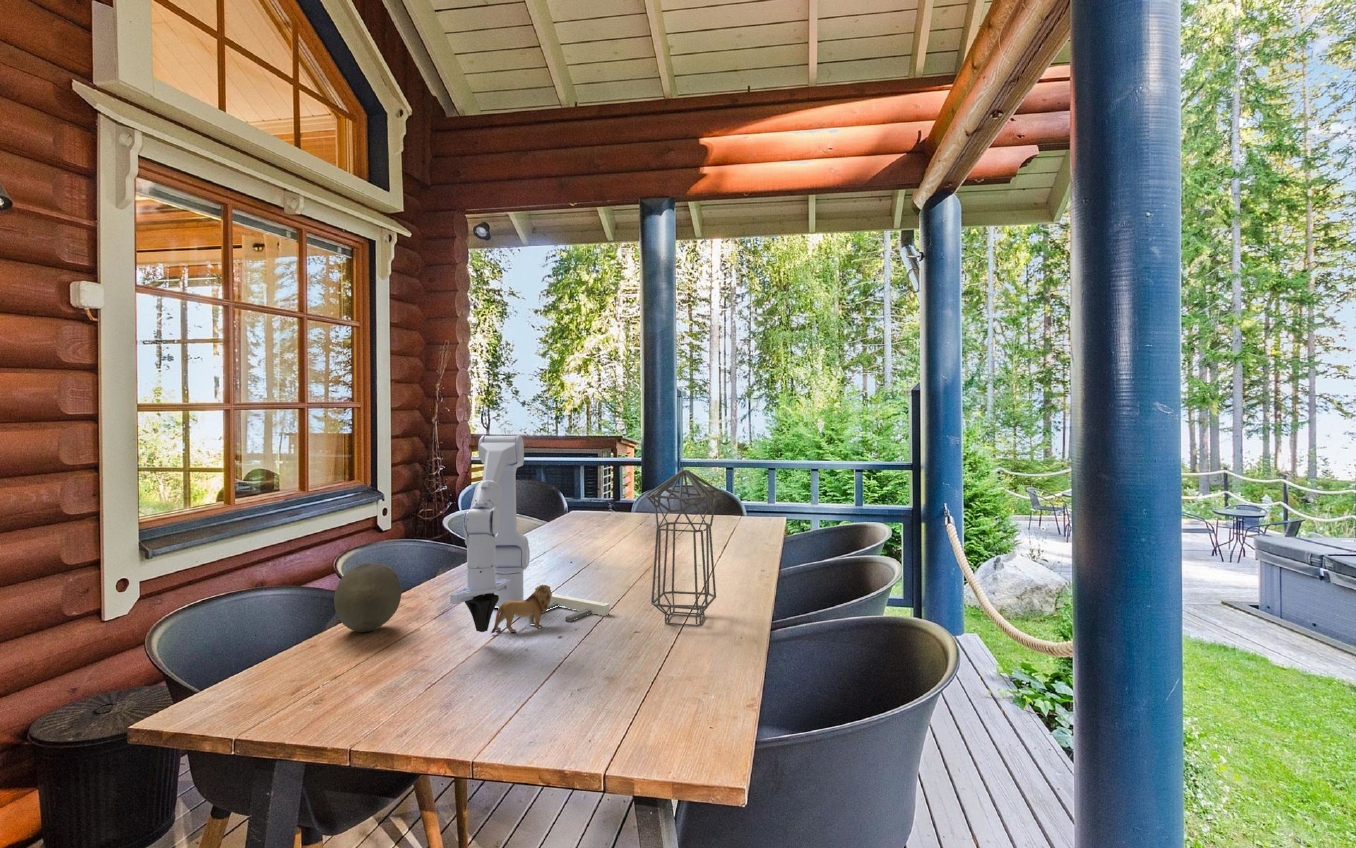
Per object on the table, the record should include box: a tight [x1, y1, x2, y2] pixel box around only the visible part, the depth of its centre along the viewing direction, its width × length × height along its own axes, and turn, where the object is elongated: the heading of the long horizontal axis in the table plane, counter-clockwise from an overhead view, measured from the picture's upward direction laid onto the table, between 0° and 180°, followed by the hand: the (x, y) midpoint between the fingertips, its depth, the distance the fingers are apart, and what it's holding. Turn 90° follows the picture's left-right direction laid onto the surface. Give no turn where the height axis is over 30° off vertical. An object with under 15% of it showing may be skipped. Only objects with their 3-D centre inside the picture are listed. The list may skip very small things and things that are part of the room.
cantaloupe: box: [333, 562, 403, 633], centre depth 148 cm, size 14×14×15 cm
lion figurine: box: [490, 584, 553, 634], centre depth 149 cm, size 15×5×9 cm, turn 130°
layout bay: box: [547, 593, 611, 622], centre depth 161 cm, size 20×10×2 cm, turn 58°
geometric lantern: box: [645, 469, 722, 627], centre depth 155 cm, size 16×16×35 cm
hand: (481, 630), depth 139 cm, fingers closed
